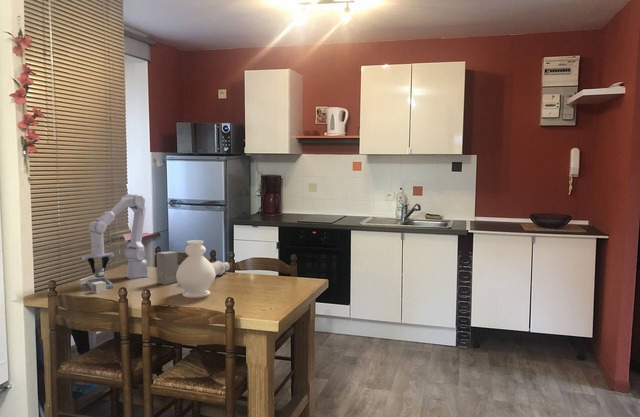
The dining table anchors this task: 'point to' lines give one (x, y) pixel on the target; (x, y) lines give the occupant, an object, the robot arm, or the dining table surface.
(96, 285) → the block
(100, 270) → the plug
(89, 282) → the tray
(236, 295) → the dining table surface
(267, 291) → the dining table surface
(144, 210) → the robot arm
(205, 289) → the decorative vase
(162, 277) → the skincare box
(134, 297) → the dining table surface
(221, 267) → the bottle
